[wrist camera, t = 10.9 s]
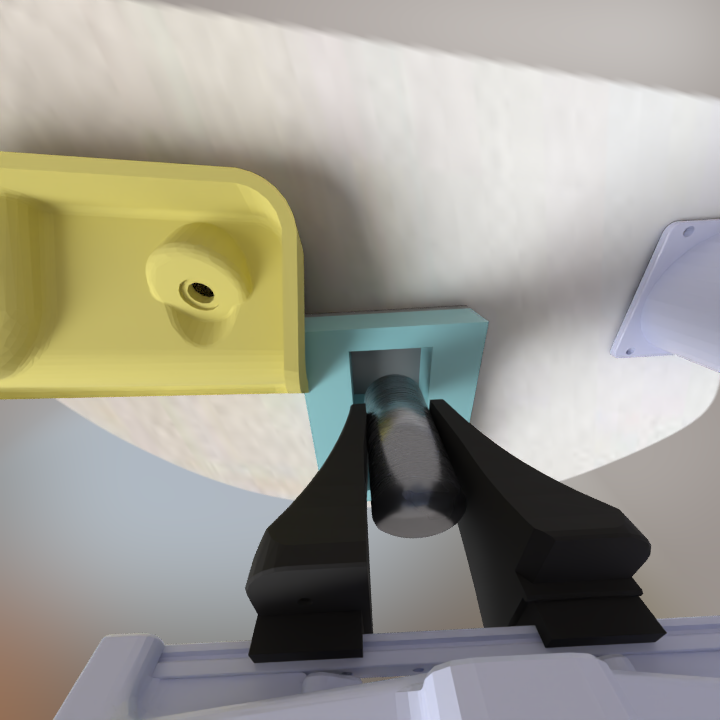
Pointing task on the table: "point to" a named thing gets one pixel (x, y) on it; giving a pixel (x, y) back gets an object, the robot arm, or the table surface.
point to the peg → (408, 463)
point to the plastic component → (146, 280)
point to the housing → (388, 361)
